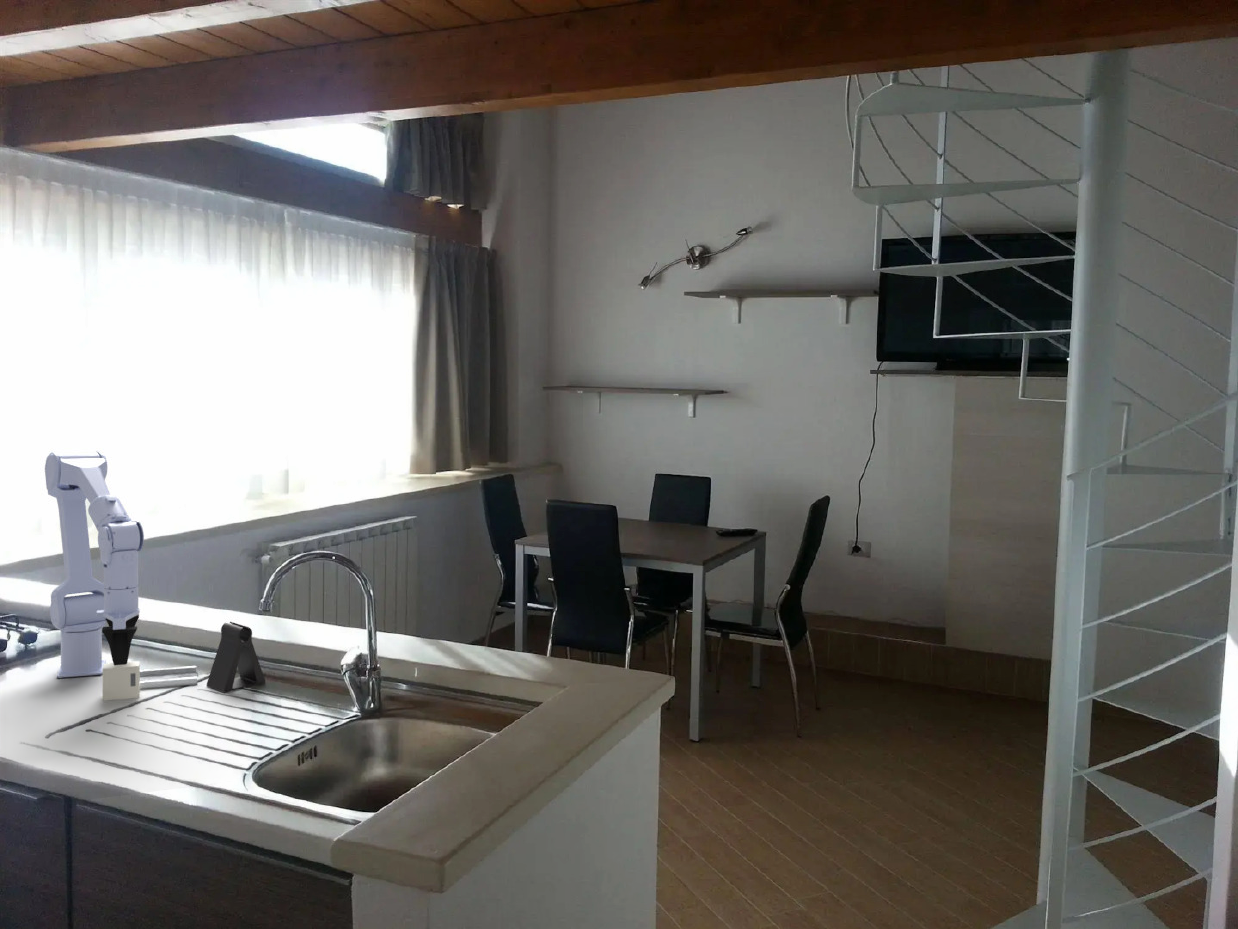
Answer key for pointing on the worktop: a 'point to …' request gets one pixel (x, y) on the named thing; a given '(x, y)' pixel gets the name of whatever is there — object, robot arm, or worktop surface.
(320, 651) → the worktop surface
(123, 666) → the door panel
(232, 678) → the dark grey hinged stand
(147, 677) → the rail
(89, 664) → the robot arm
